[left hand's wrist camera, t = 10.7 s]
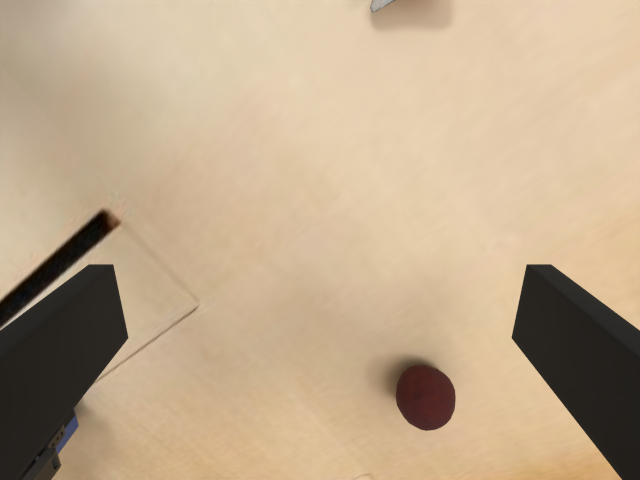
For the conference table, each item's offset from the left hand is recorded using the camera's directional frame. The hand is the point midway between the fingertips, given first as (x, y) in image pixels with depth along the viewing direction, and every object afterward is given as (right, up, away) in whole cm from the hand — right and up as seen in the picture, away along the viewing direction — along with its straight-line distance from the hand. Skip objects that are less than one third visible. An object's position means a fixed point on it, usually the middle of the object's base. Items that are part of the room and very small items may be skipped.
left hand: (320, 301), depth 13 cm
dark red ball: (+13, -16, +40) cm, 45 cm away
